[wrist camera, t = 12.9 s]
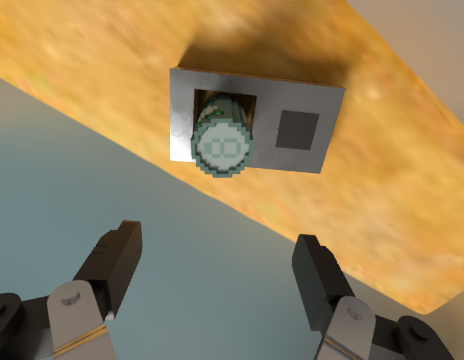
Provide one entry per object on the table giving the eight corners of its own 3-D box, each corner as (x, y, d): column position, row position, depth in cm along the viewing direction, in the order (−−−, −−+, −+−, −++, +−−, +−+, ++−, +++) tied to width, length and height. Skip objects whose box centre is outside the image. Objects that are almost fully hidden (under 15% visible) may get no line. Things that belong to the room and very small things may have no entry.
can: (202, 94, 36) (188, 118, 23) (244, 94, 36) (254, 118, 23) (204, 134, 39) (193, 177, 26) (243, 134, 39) (251, 177, 26)
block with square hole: (177, 66, 34) (169, 68, 30) (330, 84, 36) (346, 88, 31) (176, 147, 40) (170, 160, 35) (310, 160, 41) (320, 174, 37)
